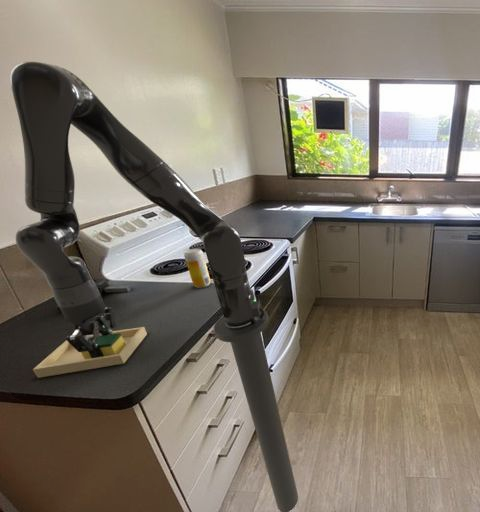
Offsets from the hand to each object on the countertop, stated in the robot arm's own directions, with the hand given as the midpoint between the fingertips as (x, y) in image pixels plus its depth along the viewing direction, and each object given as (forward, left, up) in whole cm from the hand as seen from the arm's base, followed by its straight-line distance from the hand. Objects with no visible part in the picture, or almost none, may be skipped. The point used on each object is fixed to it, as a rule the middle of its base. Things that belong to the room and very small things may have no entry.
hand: (105, 351), depth 78 cm
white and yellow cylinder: (-13, -38, -2) cm, 40 cm away
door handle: (+22, -39, -2) cm, 45 cm away
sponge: (0, 0, -1) cm, 1 cm away
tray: (+3, -2, -2) cm, 4 cm away
